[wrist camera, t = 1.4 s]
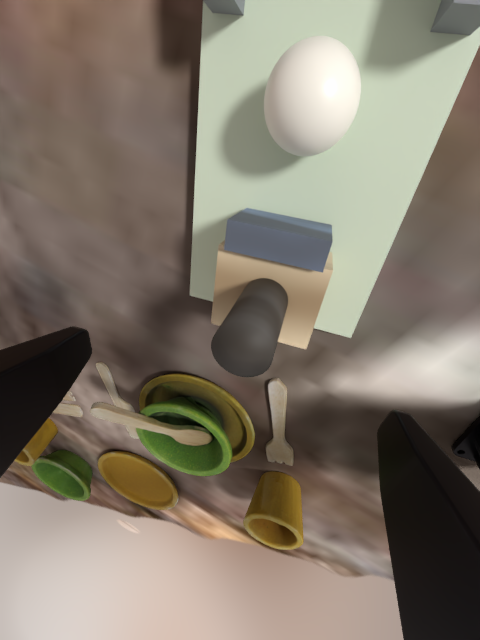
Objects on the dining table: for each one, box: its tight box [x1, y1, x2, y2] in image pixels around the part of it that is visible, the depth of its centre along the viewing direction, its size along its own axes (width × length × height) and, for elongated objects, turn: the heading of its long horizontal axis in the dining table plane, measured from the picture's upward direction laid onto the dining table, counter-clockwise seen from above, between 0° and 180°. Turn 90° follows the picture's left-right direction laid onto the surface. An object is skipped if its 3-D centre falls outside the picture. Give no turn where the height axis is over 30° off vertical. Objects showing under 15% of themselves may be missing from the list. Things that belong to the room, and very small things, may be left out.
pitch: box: [190, 0, 480, 338], centre depth 13 cm, size 22×12×6 cm, turn 172°
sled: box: [211, 208, 333, 377], centre depth 14 cm, size 6×6×8 cm
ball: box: [264, 36, 361, 156], centre depth 12 cm, size 4×4×4 cm
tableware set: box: [14, 362, 303, 550], centre depth 33 cm, size 41×28×6 cm
